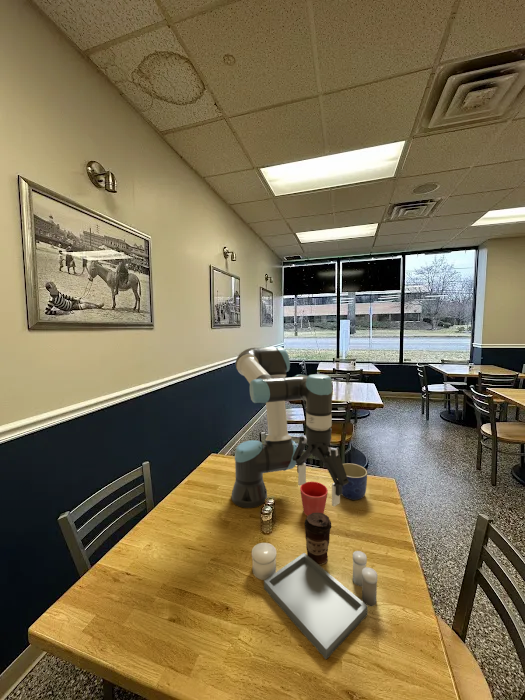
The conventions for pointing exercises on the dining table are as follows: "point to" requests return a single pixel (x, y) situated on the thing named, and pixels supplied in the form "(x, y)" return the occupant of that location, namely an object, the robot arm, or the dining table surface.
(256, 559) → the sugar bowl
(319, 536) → the coffee cup
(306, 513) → the flower pot
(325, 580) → the tray
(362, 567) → the salt shaker
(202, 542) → the dining table surface
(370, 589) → the pepper shaker
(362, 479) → the planter
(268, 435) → the robot arm
